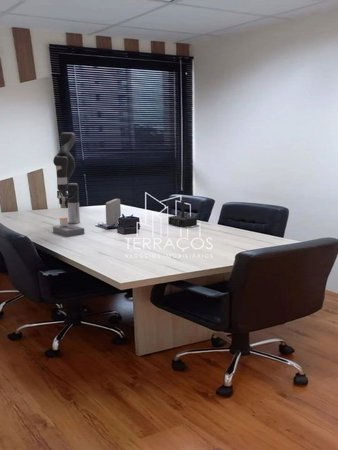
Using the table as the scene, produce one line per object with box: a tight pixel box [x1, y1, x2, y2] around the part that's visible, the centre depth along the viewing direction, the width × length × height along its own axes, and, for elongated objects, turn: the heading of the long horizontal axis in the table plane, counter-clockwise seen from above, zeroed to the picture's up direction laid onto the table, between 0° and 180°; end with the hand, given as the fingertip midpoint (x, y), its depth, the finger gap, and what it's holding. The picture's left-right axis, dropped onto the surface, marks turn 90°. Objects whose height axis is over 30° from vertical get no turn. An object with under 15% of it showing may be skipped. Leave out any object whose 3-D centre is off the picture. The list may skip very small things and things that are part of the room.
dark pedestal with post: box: [167, 199, 198, 228], centre depth 341 cm, size 19×17×20 cm
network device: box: [105, 198, 122, 226], centre depth 343 cm, size 26×9×20 cm, turn 168°
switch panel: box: [52, 223, 85, 237], centre depth 316 cm, size 22×14×4 cm, turn 42°
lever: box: [59, 217, 69, 227], centre depth 320 cm, size 3×5×6 cm, turn 132°
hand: (63, 204), depth 318 cm, fingers open, 8 cm apart
